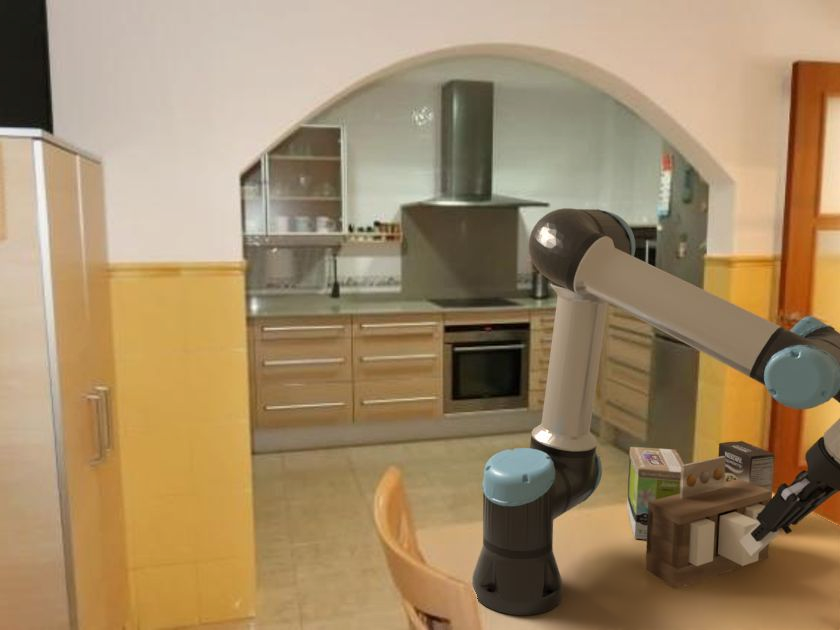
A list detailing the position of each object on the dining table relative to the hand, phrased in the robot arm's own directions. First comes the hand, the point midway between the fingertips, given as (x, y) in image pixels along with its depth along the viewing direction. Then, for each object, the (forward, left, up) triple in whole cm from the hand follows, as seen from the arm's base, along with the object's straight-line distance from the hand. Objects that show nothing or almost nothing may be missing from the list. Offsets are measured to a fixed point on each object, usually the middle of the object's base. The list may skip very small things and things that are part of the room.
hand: (748, 547), depth 107 cm
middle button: (+3, +10, -6) cm, 12 cm away
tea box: (-5, +31, -11) cm, 33 cm away
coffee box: (+14, +34, -11) cm, 38 cm away
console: (0, +15, -10) cm, 18 cm away
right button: (+7, +16, -6) cm, 19 cm away
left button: (-5, +9, -6) cm, 12 cm away
